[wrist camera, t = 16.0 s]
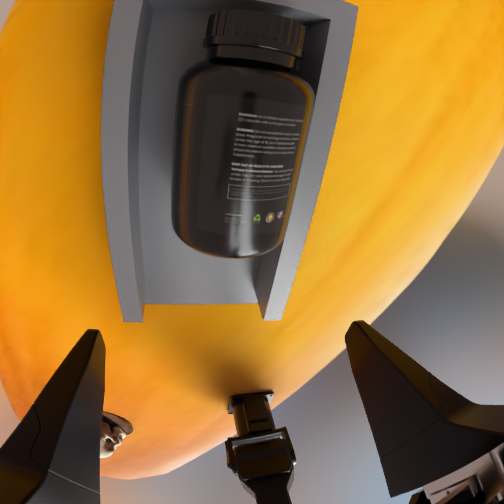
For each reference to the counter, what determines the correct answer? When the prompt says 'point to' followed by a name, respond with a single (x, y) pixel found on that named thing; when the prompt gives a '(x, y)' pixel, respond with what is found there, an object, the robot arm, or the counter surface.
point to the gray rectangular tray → (161, 147)
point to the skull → (112, 433)
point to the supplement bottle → (240, 135)
